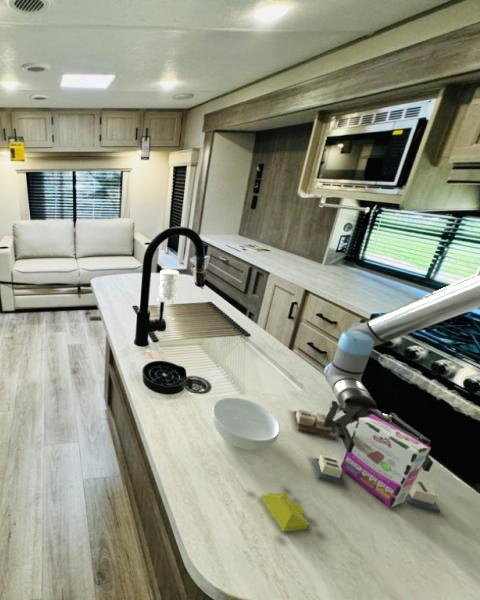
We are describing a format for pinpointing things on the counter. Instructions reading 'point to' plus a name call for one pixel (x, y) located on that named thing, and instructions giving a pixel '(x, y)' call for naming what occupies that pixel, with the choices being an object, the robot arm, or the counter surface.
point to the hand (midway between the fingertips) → (388, 457)
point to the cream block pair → (312, 424)
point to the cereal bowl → (245, 423)
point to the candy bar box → (384, 459)
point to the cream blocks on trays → (417, 496)
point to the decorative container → (168, 284)
